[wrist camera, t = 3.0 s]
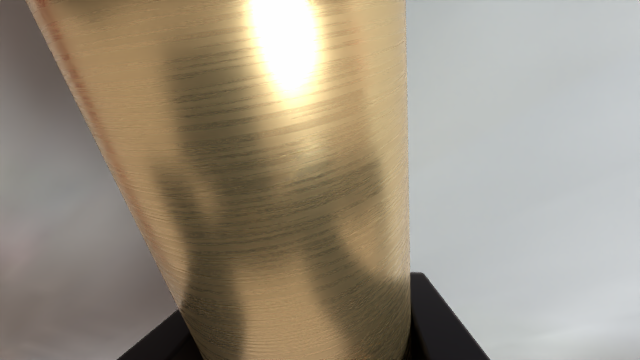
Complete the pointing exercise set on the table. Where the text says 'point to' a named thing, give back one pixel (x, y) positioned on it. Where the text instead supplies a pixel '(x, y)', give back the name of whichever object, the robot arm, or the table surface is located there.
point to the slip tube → (257, 162)
